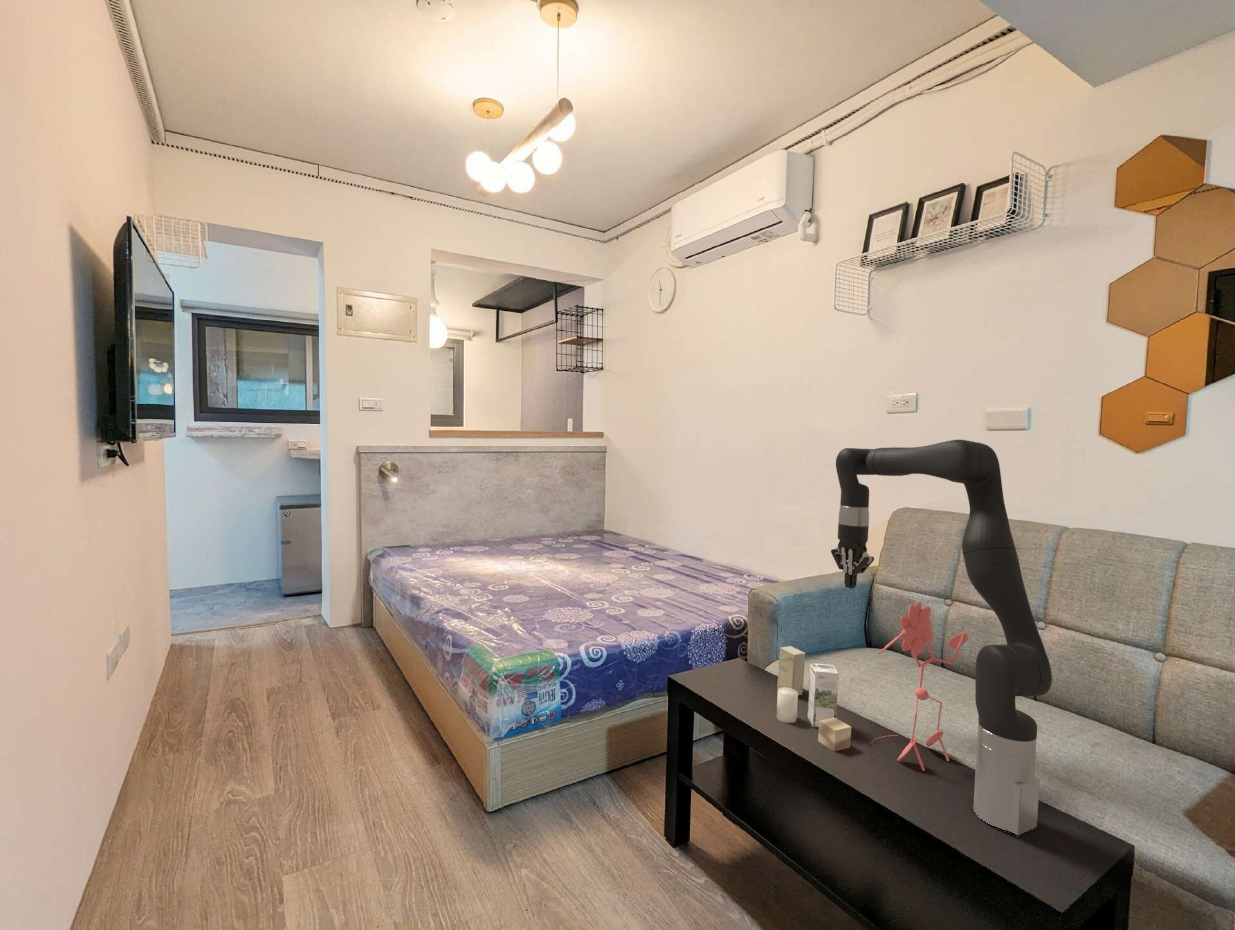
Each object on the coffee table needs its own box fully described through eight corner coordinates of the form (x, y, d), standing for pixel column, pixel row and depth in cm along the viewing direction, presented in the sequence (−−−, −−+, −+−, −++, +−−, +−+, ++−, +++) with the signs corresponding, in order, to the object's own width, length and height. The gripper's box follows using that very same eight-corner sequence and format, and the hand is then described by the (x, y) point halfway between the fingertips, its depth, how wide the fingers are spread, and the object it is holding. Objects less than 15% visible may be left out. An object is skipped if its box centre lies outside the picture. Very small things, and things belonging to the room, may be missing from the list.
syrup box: (829, 719, 149) (832, 663, 148) (836, 730, 143) (839, 672, 142) (807, 717, 149) (809, 661, 149) (812, 728, 143) (815, 670, 143)
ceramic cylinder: (800, 720, 147) (802, 693, 147) (785, 724, 145) (786, 696, 145) (787, 712, 152) (788, 686, 151) (772, 715, 149) (773, 688, 149)
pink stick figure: (974, 754, 133) (979, 604, 133) (903, 782, 121) (909, 616, 120) (912, 727, 147) (916, 590, 146) (843, 749, 134) (847, 599, 134)
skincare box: (776, 688, 167) (778, 647, 166) (788, 686, 169) (790, 645, 168) (791, 697, 161) (793, 654, 161) (803, 695, 163) (806, 652, 163)
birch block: (850, 747, 135) (851, 726, 134) (834, 751, 132) (835, 730, 132) (833, 737, 139) (834, 717, 139) (818, 741, 137) (819, 720, 137)
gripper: (884, 526, 149) (880, 592, 149) (844, 519, 161) (841, 581, 161) (863, 526, 146) (859, 594, 146) (824, 520, 158) (821, 582, 158)
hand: (850, 587), depth 154 cm, fingers closed
